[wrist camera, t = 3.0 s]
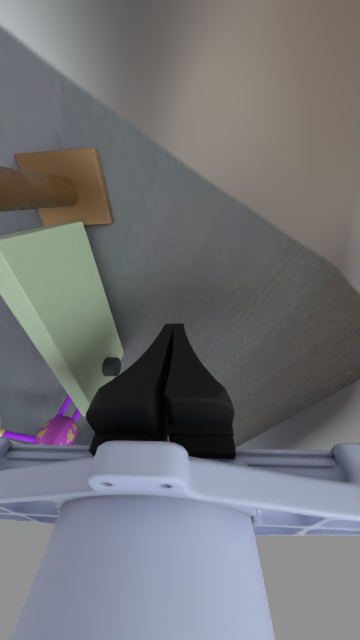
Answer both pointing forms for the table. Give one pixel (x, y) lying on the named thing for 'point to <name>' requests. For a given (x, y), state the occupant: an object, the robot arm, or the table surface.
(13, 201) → the wooden stand
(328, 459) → the robot arm
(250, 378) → the table surface
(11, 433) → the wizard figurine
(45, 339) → the door
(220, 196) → the table surface
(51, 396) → the table surface
